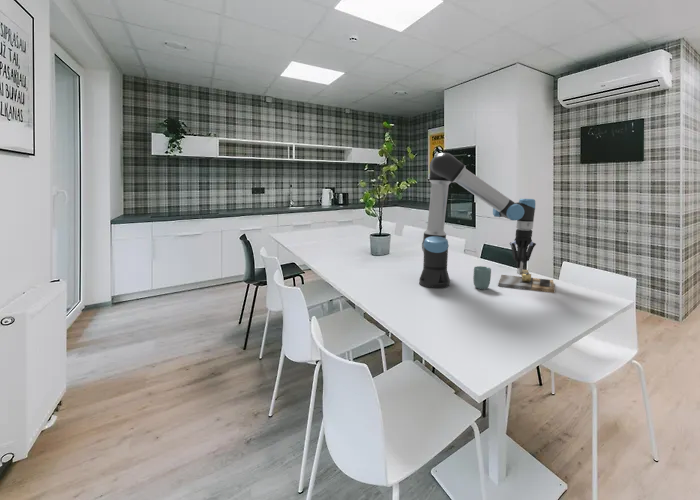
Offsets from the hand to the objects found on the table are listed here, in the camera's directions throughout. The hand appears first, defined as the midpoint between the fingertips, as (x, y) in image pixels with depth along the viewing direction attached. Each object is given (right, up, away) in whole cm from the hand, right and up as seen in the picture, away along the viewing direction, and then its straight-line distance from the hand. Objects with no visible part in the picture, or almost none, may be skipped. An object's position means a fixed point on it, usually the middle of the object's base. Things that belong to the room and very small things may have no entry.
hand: (519, 274), depth 182 cm
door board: (-1, -5, -8) cm, 9 cm away
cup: (-25, -6, -13) cm, 29 cm away
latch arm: (+1, -2, -5) cm, 5 cm away
